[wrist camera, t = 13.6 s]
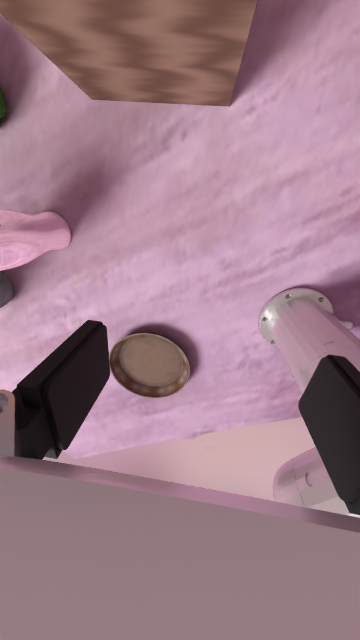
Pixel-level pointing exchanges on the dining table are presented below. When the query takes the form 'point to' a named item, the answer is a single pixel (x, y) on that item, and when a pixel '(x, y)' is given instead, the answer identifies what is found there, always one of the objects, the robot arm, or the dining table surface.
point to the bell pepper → (2, 105)
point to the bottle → (5, 289)
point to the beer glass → (30, 236)
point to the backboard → (141, 45)
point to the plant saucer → (149, 365)
